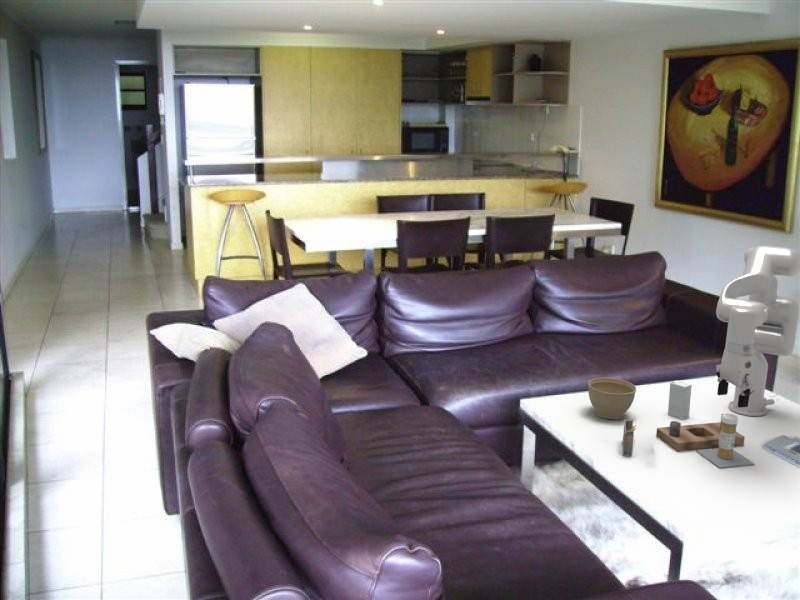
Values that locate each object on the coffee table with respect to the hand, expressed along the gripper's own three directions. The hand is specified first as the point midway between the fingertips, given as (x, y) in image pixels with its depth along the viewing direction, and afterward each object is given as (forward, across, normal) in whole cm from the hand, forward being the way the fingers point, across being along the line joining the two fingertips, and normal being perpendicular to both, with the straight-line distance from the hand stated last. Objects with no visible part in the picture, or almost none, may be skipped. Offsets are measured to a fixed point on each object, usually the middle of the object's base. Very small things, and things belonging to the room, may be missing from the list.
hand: (732, 400), depth 239 cm
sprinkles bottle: (+18, 0, 0) cm, 19 cm away
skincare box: (+20, +32, -4) cm, 38 cm away
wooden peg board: (+19, +12, +1) cm, 23 cm away
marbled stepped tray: (+19, +12, +27) cm, 35 cm away
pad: (+19, -1, +1) cm, 19 cm away
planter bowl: (+19, +38, +19) cm, 47 cm away
